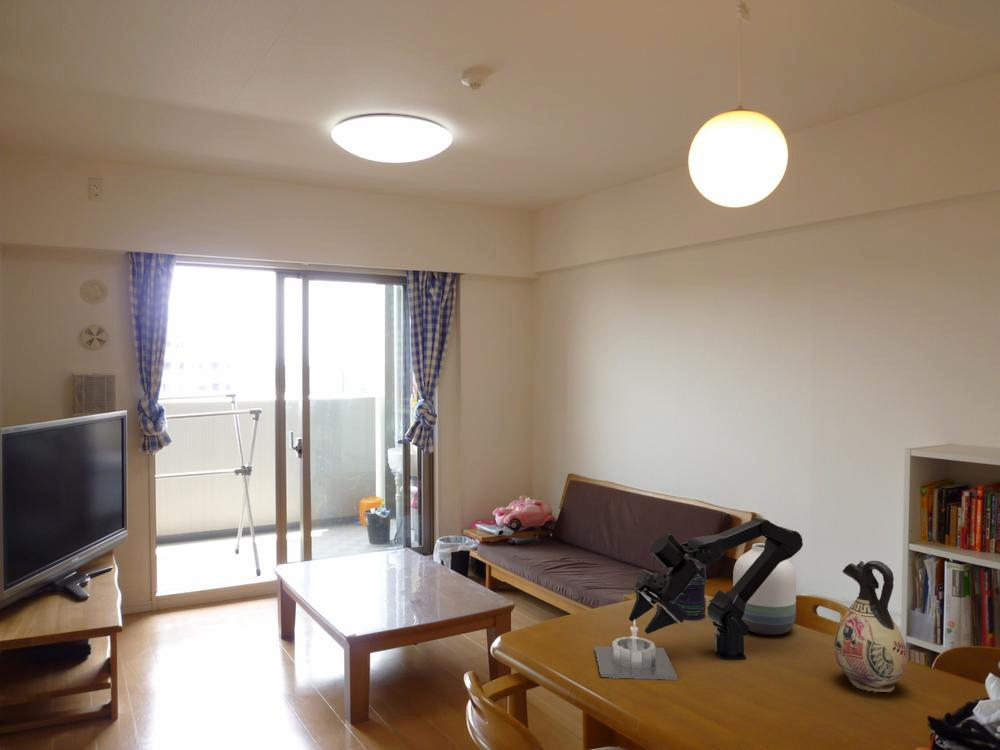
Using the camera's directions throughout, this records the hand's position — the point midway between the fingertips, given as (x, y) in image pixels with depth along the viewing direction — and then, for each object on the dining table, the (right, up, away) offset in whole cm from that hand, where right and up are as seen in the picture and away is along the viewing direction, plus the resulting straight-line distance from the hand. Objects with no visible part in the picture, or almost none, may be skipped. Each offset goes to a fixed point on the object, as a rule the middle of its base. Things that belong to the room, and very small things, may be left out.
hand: (637, 626), depth 179 cm
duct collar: (-1, -9, 0) cm, 9 cm away
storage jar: (+23, -10, +37) cm, 45 cm away
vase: (+41, -10, +26) cm, 50 cm away
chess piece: (-1, -9, 0) cm, 9 cm away
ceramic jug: (+52, -10, -13) cm, 55 cm away
